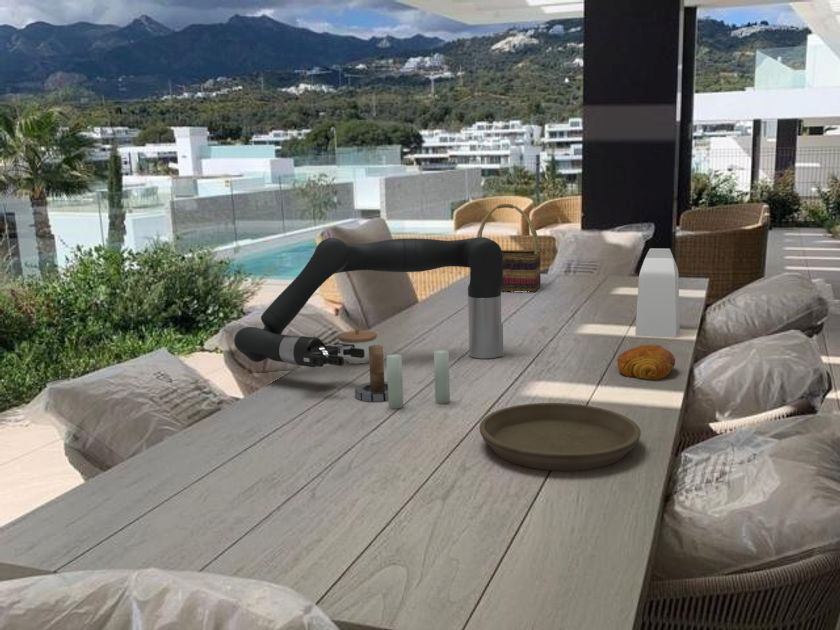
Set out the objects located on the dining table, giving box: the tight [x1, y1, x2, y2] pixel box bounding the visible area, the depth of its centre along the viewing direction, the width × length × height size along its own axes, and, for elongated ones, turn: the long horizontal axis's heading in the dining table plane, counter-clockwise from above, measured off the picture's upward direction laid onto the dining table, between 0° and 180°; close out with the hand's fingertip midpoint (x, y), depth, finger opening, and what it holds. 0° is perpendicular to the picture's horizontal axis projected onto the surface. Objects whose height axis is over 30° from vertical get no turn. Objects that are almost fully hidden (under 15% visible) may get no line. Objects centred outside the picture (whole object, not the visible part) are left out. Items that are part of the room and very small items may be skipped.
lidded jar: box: [337, 328, 378, 365], centre depth 236 cm, size 11×11×9 cm
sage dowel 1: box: [386, 353, 404, 410], centre depth 193 cm, size 3×3×12 cm
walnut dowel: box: [368, 344, 385, 392], centre depth 203 cm, size 3×3×12 cm
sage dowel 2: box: [433, 349, 451, 405], centre depth 195 cm, size 3×3×12 cm
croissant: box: [616, 344, 676, 381], centre depth 215 cm, size 14×16×8 cm
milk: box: [634, 248, 681, 339], centre depth 257 cm, size 12×12×26 cm
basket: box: [476, 203, 542, 293], centre depth 342 cm, size 26×15×35 cm, turn 72°
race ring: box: [354, 380, 388, 403], centre depth 204 cm, size 11×11×2 cm
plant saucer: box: [478, 402, 642, 472], centre depth 165 cm, size 31×31×5 cm
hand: (353, 357), depth 205 cm, fingers open, 8 cm apart
